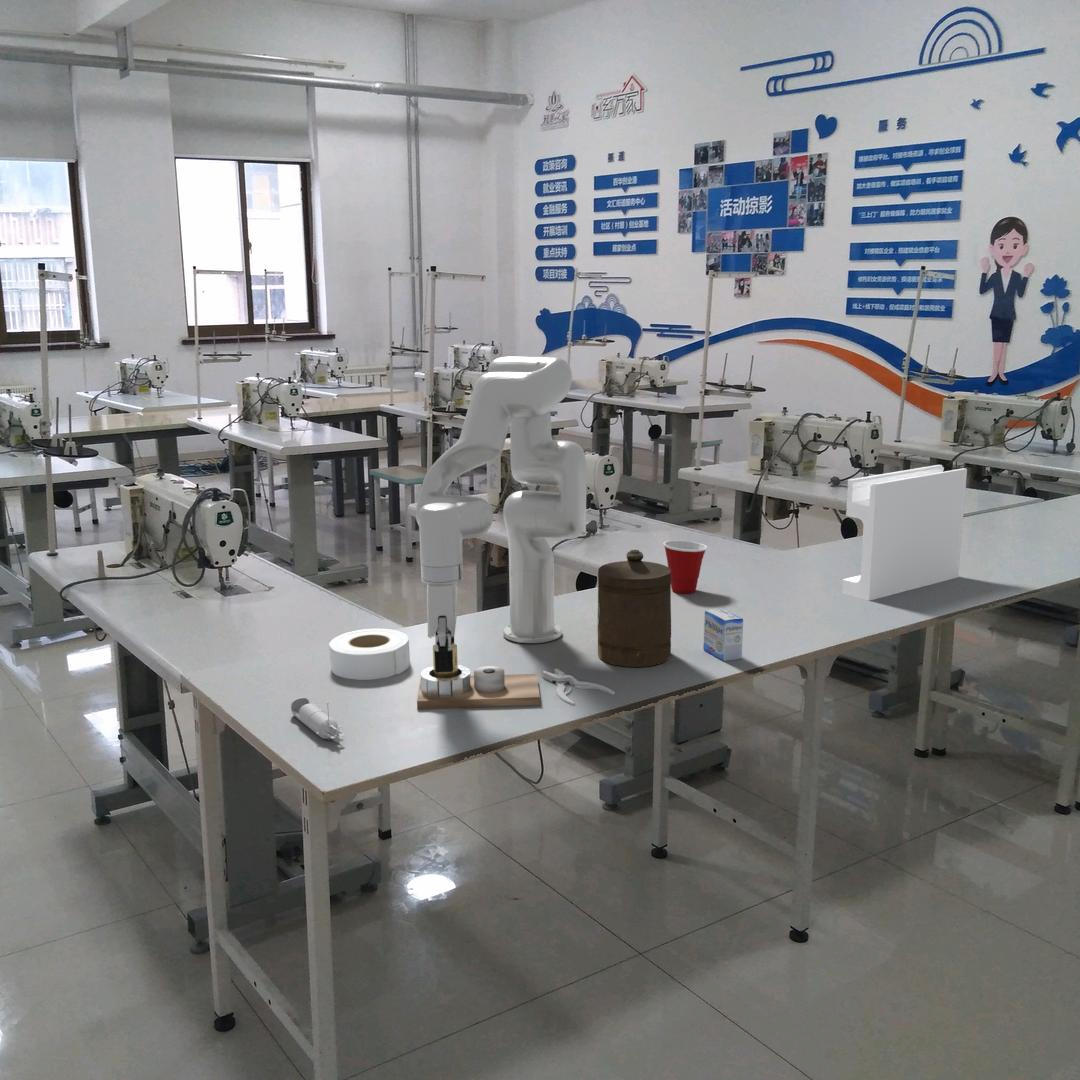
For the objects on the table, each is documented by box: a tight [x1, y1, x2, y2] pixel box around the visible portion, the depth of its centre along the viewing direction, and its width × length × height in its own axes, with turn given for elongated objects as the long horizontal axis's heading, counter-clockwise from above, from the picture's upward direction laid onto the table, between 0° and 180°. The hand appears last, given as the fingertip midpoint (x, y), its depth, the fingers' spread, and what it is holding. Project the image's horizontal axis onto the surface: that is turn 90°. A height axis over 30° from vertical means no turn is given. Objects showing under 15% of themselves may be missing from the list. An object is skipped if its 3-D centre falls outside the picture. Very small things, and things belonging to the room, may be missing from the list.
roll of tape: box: [328, 628, 411, 681], centre depth 212 cm, size 16×16×6 cm
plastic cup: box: [662, 539, 709, 595], centre depth 261 cm, size 11×11×12 cm
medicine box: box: [702, 608, 744, 662], centre depth 216 cm, size 8×4×9 cm, turn 23°
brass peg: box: [432, 642, 459, 679], centre depth 196 cm, size 4×4×8 cm
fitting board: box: [416, 665, 541, 710], centre depth 196 cm, size 12×22×5 cm, turn 93°
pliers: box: [541, 668, 616, 706], centre depth 200 cm, size 10×2×15 cm
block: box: [841, 464, 968, 602], centre depth 262 cm, size 35×8×28 cm, turn 125°
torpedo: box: [290, 697, 345, 745], centre depth 182 cm, size 18×5×7 cm, turn 35°
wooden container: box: [596, 549, 672, 668], centre depth 215 cm, size 15×15×22 cm
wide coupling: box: [420, 664, 471, 697], centre depth 196 cm, size 9×9×3 cm
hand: (445, 662), depth 195 cm, fingers open, 9 cm apart
